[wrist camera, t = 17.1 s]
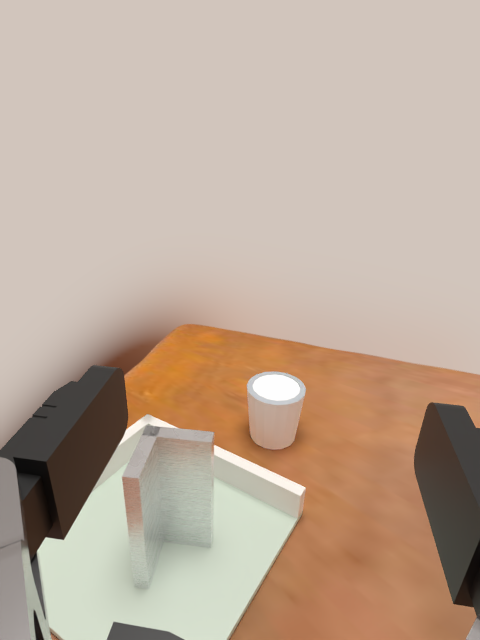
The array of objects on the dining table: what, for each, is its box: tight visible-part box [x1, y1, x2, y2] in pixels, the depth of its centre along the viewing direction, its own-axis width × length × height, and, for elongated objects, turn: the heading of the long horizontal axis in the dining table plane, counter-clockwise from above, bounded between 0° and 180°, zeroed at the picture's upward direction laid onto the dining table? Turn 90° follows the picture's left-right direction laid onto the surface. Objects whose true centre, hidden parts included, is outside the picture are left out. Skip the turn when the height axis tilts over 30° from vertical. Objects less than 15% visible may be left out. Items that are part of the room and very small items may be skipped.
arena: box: [38, 414, 306, 640], centre depth 38 cm, size 20×20×4 cm
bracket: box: [122, 425, 214, 589], centre depth 34 cm, size 6×6×12 cm
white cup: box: [247, 372, 306, 450], centre depth 52 cm, size 7×7×7 cm
